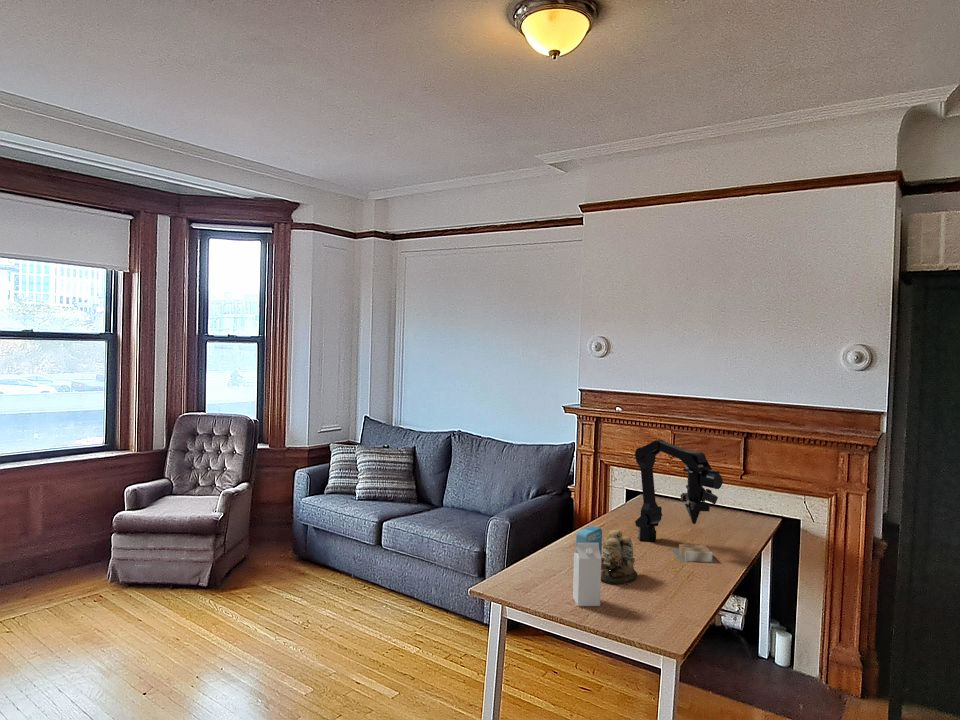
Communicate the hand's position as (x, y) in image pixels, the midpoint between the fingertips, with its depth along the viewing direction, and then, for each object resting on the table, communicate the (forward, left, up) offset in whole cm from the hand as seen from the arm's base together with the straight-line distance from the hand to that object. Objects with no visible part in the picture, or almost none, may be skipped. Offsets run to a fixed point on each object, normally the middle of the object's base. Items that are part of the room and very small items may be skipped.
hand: (693, 523), depth 252 cm
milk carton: (-48, -50, -13) cm, 70 cm away
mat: (0, -1, -13) cm, 13 cm away
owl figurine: (-34, -27, -13) cm, 45 cm away
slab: (0, +2, -10) cm, 11 cm away
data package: (-42, -10, -13) cm, 45 cm away
